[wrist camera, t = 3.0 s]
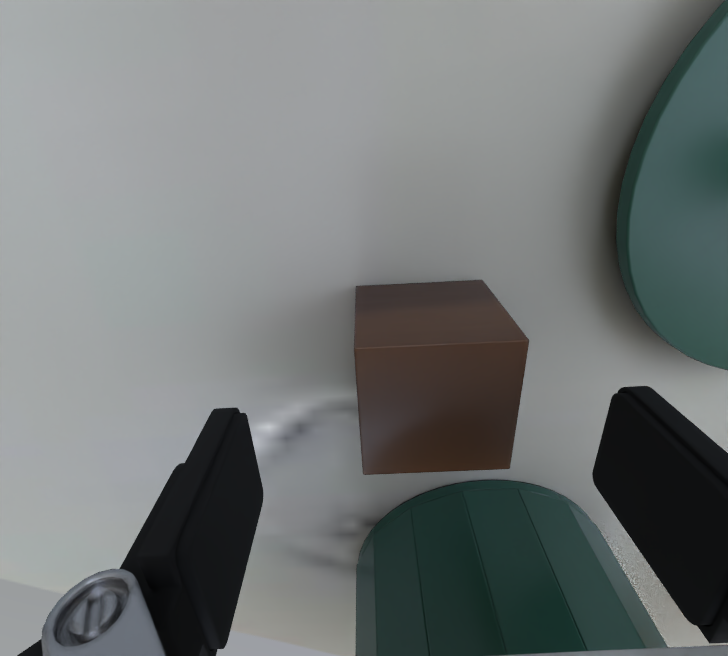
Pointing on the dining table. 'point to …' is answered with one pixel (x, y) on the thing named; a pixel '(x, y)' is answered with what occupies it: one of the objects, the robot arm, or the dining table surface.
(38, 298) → the dining table surface
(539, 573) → the green tube
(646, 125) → the green disc with handle
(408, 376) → the block
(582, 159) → the dining table surface
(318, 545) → the dining table surface
